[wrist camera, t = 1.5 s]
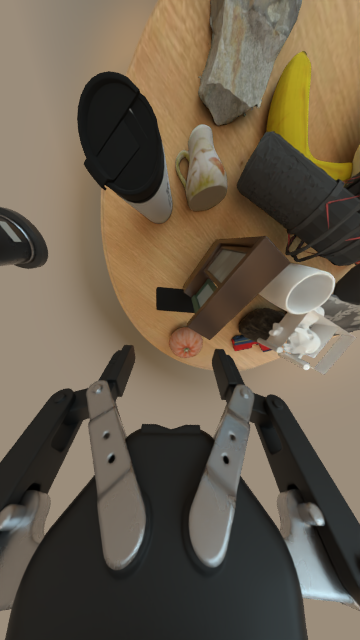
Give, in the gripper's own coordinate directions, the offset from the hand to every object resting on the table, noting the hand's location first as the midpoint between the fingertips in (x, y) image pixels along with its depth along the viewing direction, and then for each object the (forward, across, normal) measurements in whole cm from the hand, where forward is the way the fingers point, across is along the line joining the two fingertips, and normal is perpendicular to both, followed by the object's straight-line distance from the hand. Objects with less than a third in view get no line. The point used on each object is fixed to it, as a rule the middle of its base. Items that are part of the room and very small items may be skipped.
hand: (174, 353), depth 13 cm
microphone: (+13, -36, -7) cm, 39 cm away
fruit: (+26, -20, -23) cm, 41 cm away
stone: (+28, -8, -35) cm, 46 cm away
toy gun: (+25, -30, +25) cm, 46 cm away
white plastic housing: (+10, -28, +4) cm, 30 cm away
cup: (+26, -23, -3) cm, 35 cm away
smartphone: (+27, -2, +5) cm, 27 cm away
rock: (+26, -26, +10) cm, 38 cm away
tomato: (+26, -4, +18) cm, 32 cm away
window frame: (+26, -7, -3) cm, 27 cm away
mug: (+26, -3, -20) cm, 33 cm away
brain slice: (+24, -41, +6) cm, 48 cm away
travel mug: (+26, +5, -16) cm, 31 cm away
